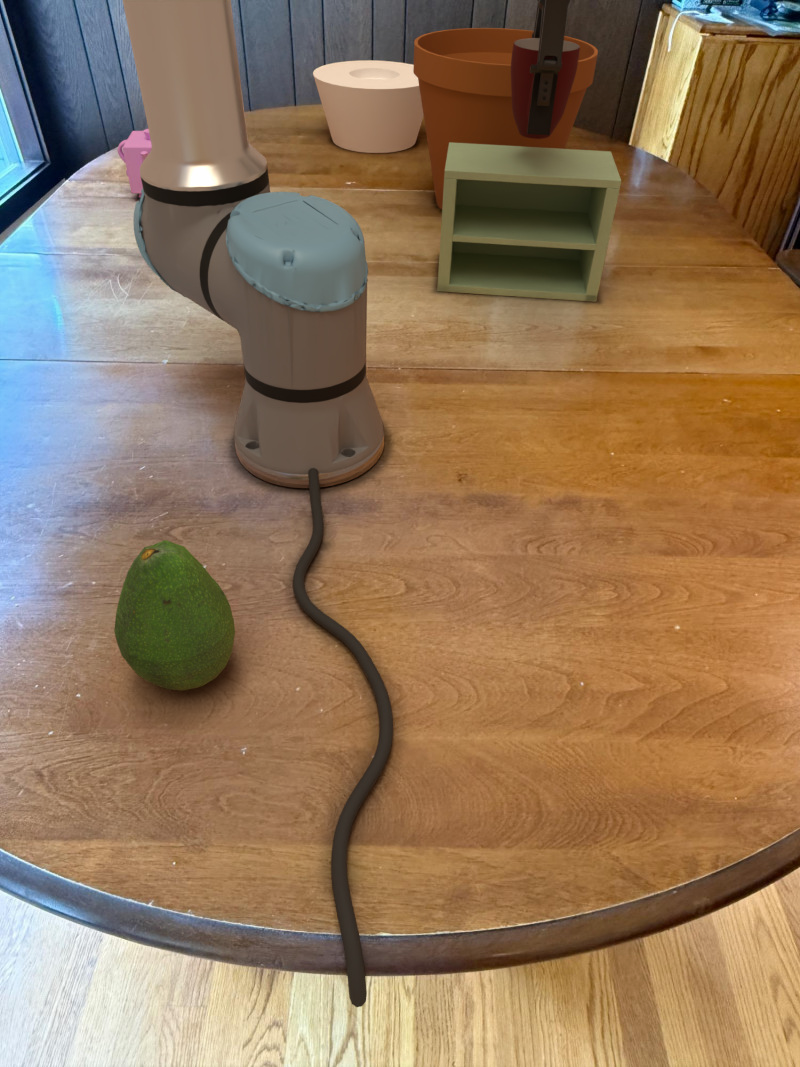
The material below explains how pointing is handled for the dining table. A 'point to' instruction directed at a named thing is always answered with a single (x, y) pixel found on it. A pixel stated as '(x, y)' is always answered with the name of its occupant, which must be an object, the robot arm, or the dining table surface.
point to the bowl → (371, 104)
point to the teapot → (135, 156)
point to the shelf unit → (526, 220)
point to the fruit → (173, 619)
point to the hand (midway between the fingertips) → (536, 121)
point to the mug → (523, 79)
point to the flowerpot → (481, 92)
